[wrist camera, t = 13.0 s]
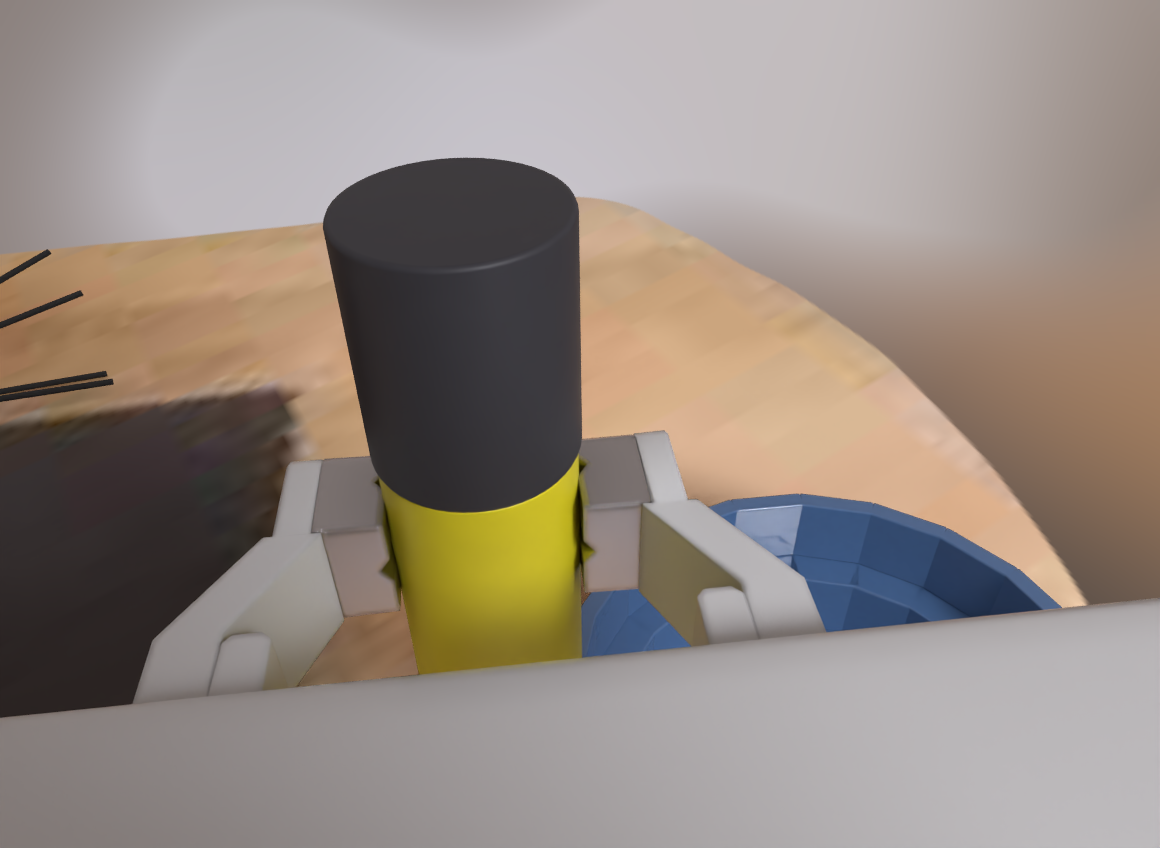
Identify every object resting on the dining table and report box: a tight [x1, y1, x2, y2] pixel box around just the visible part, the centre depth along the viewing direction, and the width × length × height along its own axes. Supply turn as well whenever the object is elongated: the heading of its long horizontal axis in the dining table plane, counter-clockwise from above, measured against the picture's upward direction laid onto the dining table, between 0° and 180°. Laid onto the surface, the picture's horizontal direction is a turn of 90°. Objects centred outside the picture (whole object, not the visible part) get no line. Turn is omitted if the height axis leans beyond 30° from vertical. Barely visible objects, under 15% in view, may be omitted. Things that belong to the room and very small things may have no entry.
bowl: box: [581, 494, 1062, 658], centre depth 26 cm, size 15×15×6 cm
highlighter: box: [323, 158, 582, 675], centre depth 14 cm, size 3×3×11 cm
